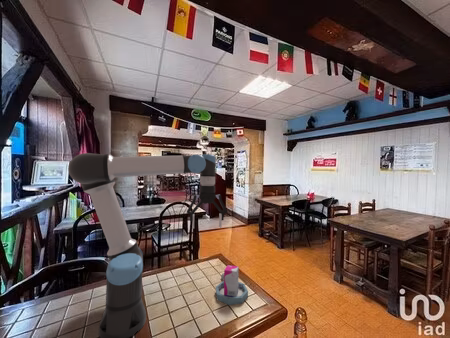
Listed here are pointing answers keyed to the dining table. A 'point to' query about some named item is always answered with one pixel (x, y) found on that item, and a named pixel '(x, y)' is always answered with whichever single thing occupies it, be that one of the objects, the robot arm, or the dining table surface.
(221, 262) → the dining table surface
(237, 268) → the supplement box
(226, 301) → the dish
